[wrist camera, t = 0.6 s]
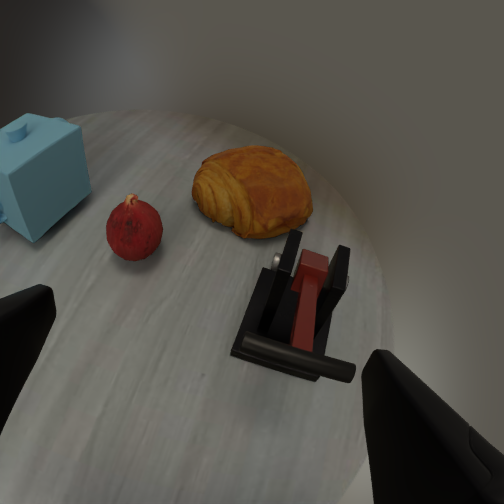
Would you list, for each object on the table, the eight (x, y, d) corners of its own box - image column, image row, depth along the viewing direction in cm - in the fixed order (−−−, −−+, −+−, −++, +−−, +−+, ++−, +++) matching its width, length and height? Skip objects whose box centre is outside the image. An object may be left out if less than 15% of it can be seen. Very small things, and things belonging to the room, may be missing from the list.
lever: (342, 395, 15) (362, 365, 14) (234, 363, 16) (245, 329, 15) (339, 288, 26) (350, 263, 25) (271, 266, 27) (280, 240, 26)
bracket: (315, 382, 27) (361, 330, 20) (229, 355, 28) (244, 292, 20) (332, 297, 34) (368, 231, 26) (260, 273, 34) (280, 201, 27)
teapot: (106, 190, 40) (95, 102, 30) (23, 267, 29) (-18, 174, 20) (35, 160, 43) (20, 90, 33) (-35, 217, 32) (-64, 143, 23)
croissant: (183, 195, 44) (175, 146, 38) (280, 167, 49) (283, 121, 43) (221, 269, 36) (216, 217, 30) (335, 227, 41) (348, 177, 34)
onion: (159, 279, 32) (153, 220, 26) (106, 274, 31) (90, 216, 25) (168, 238, 36) (165, 180, 30) (119, 234, 35) (110, 177, 29)
